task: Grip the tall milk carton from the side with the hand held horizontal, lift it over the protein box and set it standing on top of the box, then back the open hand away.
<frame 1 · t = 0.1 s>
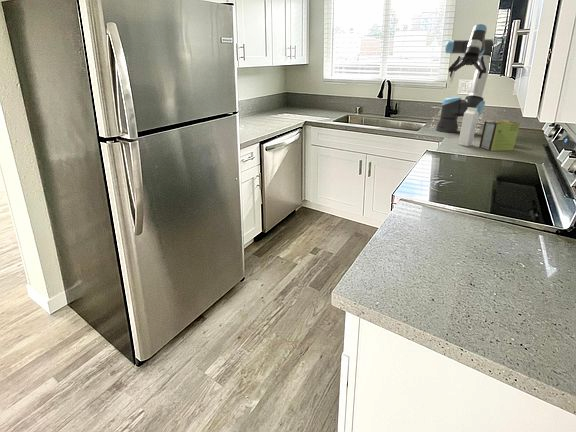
hand: (463, 82, 214), 36 cm above the worktop, tool tilted 35°, fingers open, 13 cm apart
milk: (464, 145, 228), on the worktop
protein box: (495, 148, 219), on the worktop
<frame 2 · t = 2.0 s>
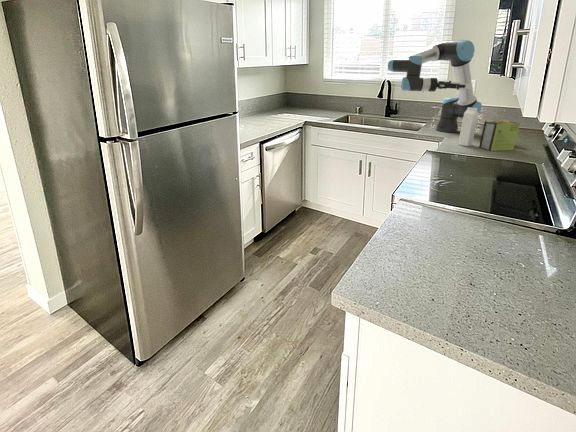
hand: (466, 85, 215), 34 cm above the worktop, tool horizontal, fingers open, 13 cm apart
nothing on the worktop moved.
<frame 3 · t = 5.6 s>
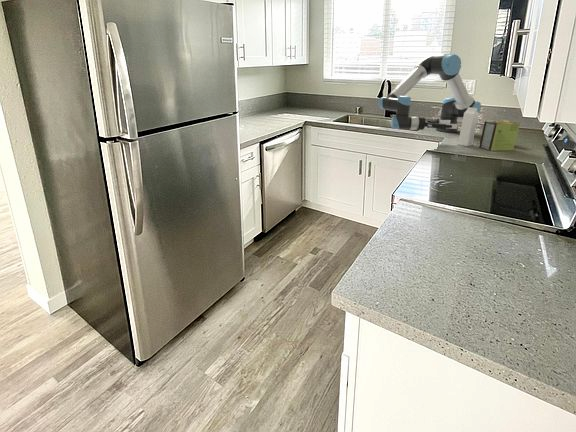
hand: (453, 124, 223), 12 cm above the worktop, tool horizontal, fingers open, 13 cm apart
nothing on the worktop moved.
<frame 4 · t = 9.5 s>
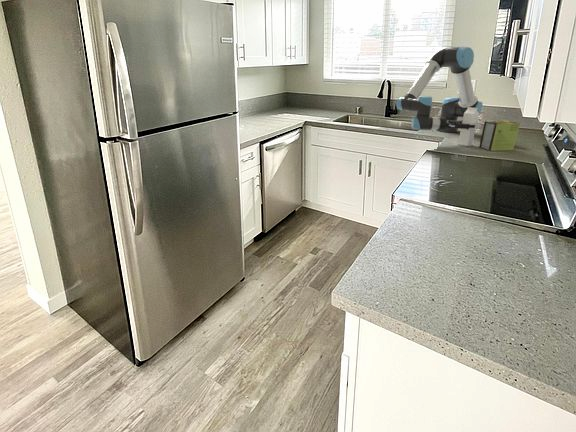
hand: (477, 125, 222), 12 cm above the worktop, tool horizontal, fingers closed on milk, 8 cm apart
milk: (464, 145, 228), on the worktop, touching gripper
everything else where it was.
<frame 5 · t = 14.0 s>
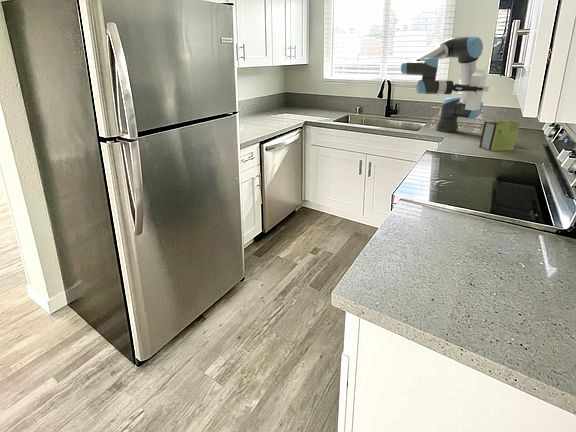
hand: (484, 88, 214), 33 cm above the worktop, tool horizontal, fingers closed on milk, 8 cm apart
milk: (472, 109, 219), point 21 cm above the worktop, touching gripper
everything else where it was.
when the fingers open (29 cm above the worktop, at t = 18.7 s): milk drops 2 cm, resting on protein box.
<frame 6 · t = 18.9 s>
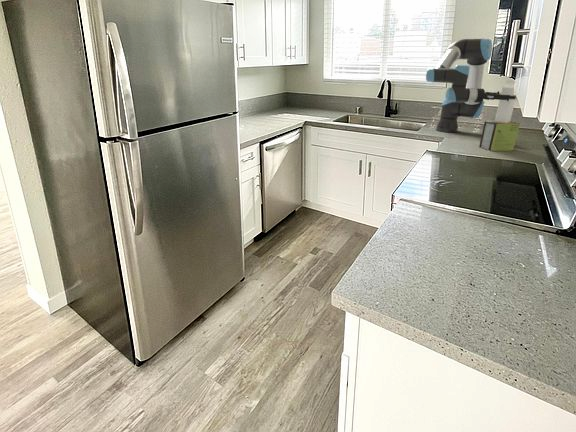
hand: (516, 96, 207), 29 cm above the worktop, tool horizontal, fingers open, 10 cm apart
milk: (502, 122, 213), point 15 cm above the worktop, touching protein box
protein box: (495, 149, 219), on the worktop, touching milk
everything else where it was.
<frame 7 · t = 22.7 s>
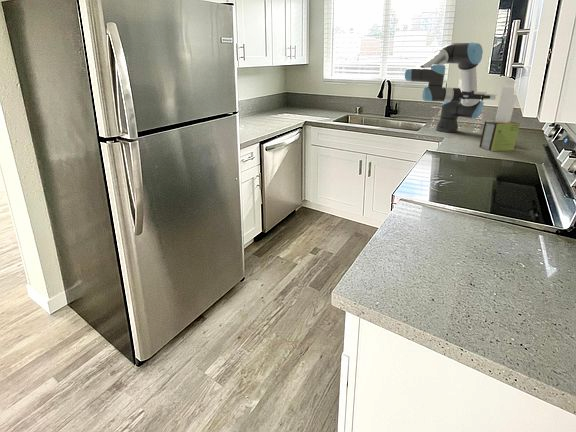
hand: (490, 95, 208), 30 cm above the worktop, tool horizontal, fingers open, 13 cm apart
nothing on the worktop moved.
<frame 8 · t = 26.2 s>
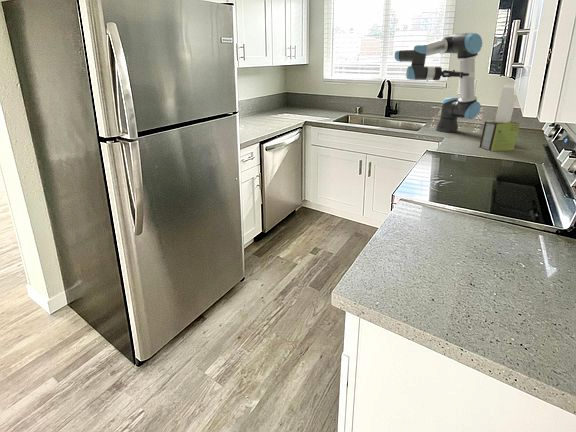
hand: (469, 74, 221), 40 cm above the worktop, tool horizontal, fingers open, 13 cm apart
nothing on the worktop moved.
at the end: milk point 15.2 cm above the worktop; milk 0.0 cm from the protein box (horizontally); milk tilted 0° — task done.
